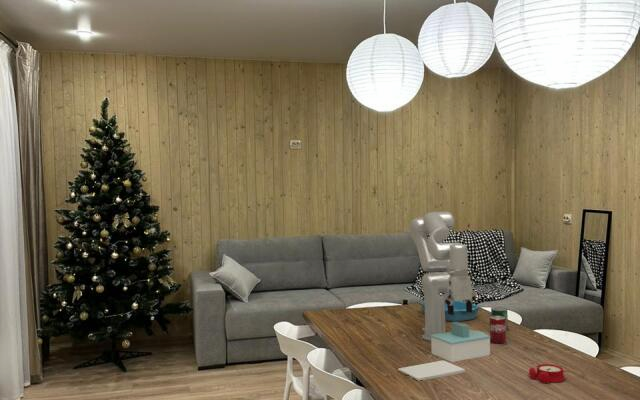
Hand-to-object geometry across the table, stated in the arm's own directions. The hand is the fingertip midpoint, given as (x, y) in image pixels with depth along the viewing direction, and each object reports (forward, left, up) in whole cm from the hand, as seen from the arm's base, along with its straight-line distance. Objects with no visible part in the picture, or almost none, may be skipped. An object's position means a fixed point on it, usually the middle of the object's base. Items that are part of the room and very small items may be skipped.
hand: (460, 313), depth 246 cm
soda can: (-8, +27, -19) cm, 34 cm away
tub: (-1, 0, -19) cm, 19 cm away
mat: (+10, -23, -19) cm, 31 cm away
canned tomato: (-26, +44, -19) cm, 54 cm away
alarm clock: (+38, +9, -19) cm, 44 cm away
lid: (-1, 0, -12) cm, 12 cm away
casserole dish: (-65, +43, -19) cm, 80 cm away
